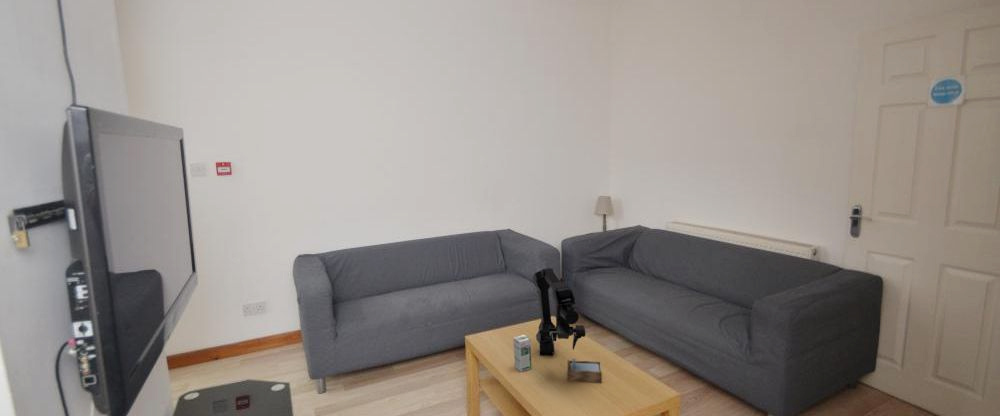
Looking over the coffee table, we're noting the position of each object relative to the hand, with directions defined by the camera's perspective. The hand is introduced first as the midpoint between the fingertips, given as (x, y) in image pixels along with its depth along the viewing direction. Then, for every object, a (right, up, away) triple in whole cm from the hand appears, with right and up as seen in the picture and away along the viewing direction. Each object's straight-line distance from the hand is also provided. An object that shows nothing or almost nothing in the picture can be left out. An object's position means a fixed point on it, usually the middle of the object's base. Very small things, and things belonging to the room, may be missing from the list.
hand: (563, 349), depth 193 cm
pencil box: (+9, -12, 0) cm, 15 cm away
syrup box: (-17, -12, +9) cm, 23 cm away
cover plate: (+9, -8, 0) cm, 13 cm away
